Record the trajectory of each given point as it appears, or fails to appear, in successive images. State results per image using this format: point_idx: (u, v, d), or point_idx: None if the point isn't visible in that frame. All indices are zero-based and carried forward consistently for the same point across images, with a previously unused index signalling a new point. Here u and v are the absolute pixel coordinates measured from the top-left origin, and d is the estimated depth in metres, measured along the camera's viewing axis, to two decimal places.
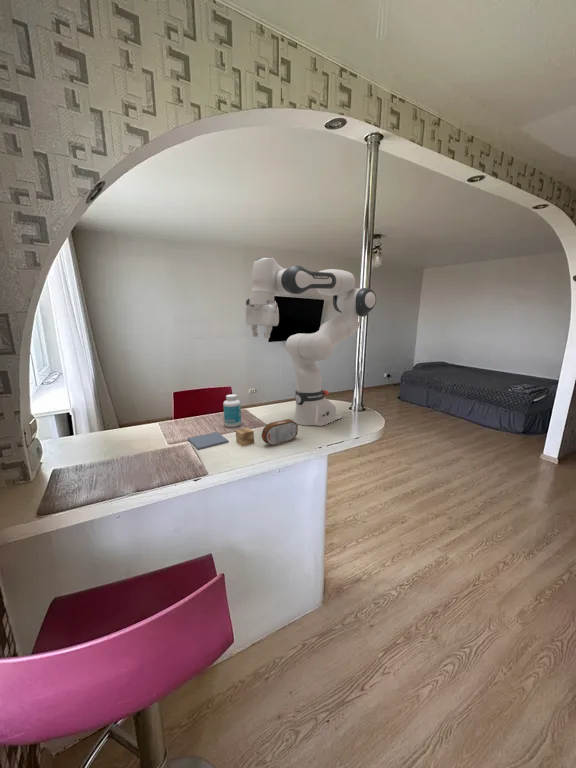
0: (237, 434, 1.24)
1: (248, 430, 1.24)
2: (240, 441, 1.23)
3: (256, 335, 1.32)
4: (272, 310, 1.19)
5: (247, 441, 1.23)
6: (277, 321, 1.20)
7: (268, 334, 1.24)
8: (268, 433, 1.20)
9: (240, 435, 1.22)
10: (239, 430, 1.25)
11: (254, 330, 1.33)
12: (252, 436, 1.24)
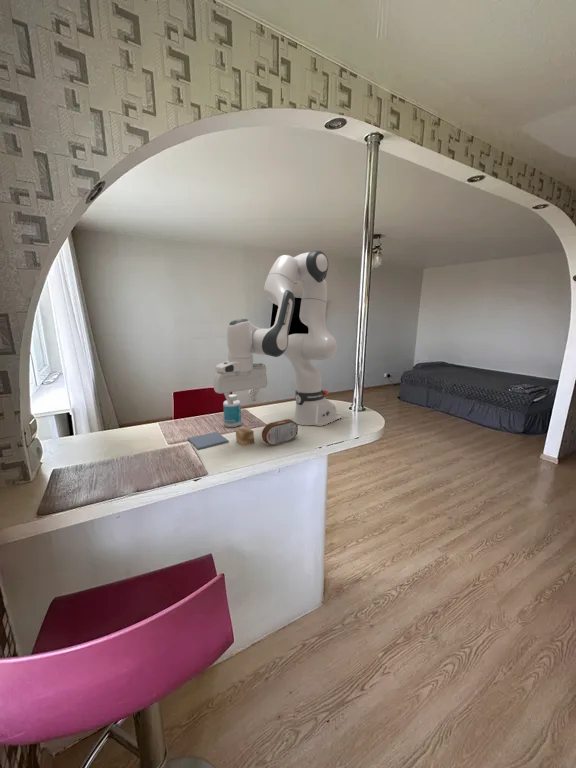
0: (237, 434, 1.24)
1: (248, 430, 1.24)
2: (240, 441, 1.23)
3: None
4: None
5: (247, 441, 1.23)
6: None
7: None
8: (268, 433, 1.20)
9: (240, 435, 1.22)
10: (239, 430, 1.25)
11: None
12: (252, 436, 1.24)
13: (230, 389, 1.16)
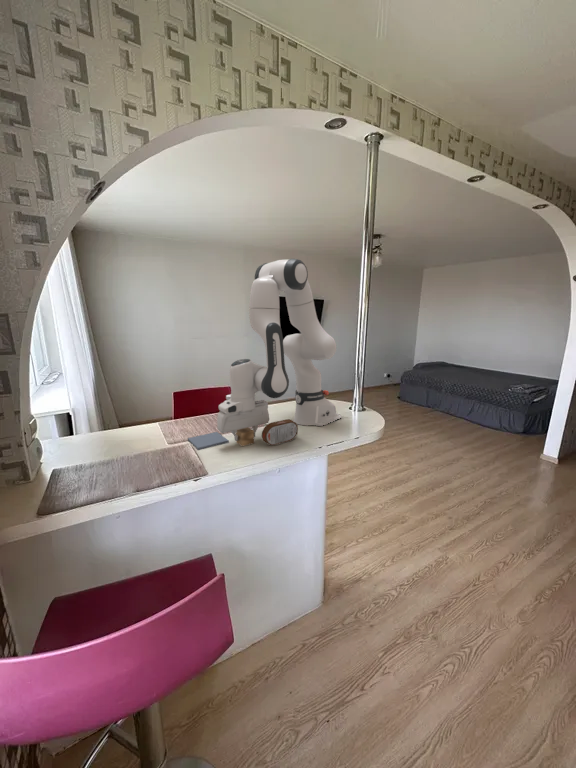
0: (237, 434, 1.24)
1: (248, 430, 1.24)
2: (240, 441, 1.23)
3: None
4: None
5: (247, 440, 1.23)
6: None
7: None
8: (268, 433, 1.20)
9: (240, 435, 1.22)
10: (239, 430, 1.25)
11: (235, 434, 1.22)
12: (252, 436, 1.24)
13: (233, 428, 1.20)
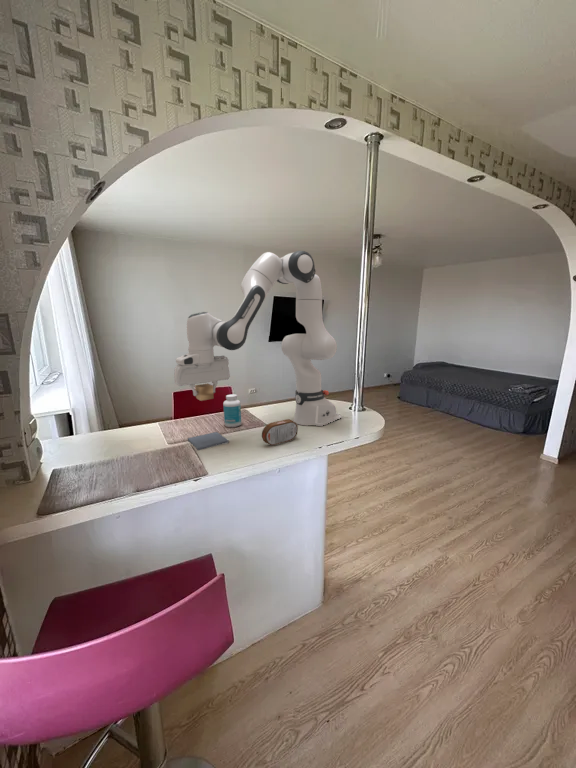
0: (196, 389, 1.23)
1: (207, 385, 1.23)
2: (199, 395, 1.21)
3: None
4: None
5: (206, 395, 1.22)
6: None
7: None
8: (268, 433, 1.20)
9: (198, 389, 1.21)
10: (198, 385, 1.23)
11: (194, 389, 1.21)
12: (211, 391, 1.23)
13: (190, 381, 1.18)
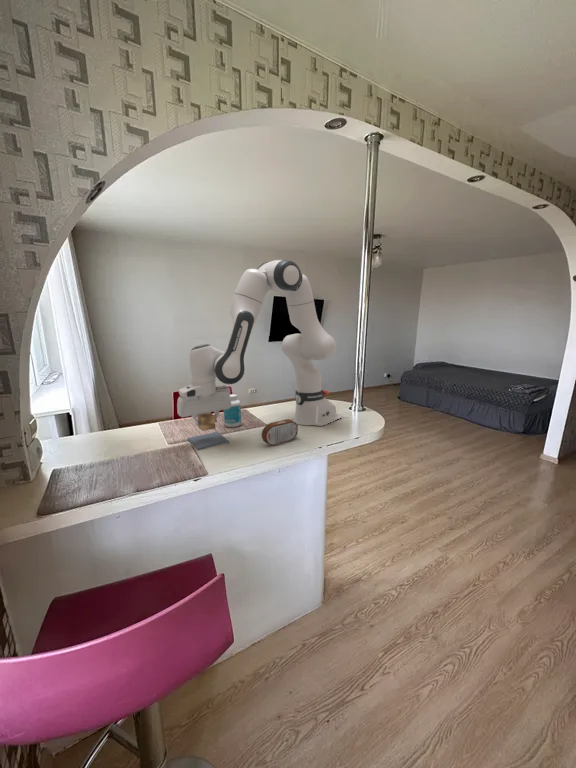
0: (198, 419, 1.25)
1: (209, 415, 1.25)
2: (201, 426, 1.24)
3: None
4: None
5: (208, 425, 1.24)
6: None
7: None
8: (268, 433, 1.20)
9: (201, 419, 1.23)
10: (200, 415, 1.25)
11: (196, 419, 1.23)
12: (213, 421, 1.25)
13: (193, 412, 1.20)
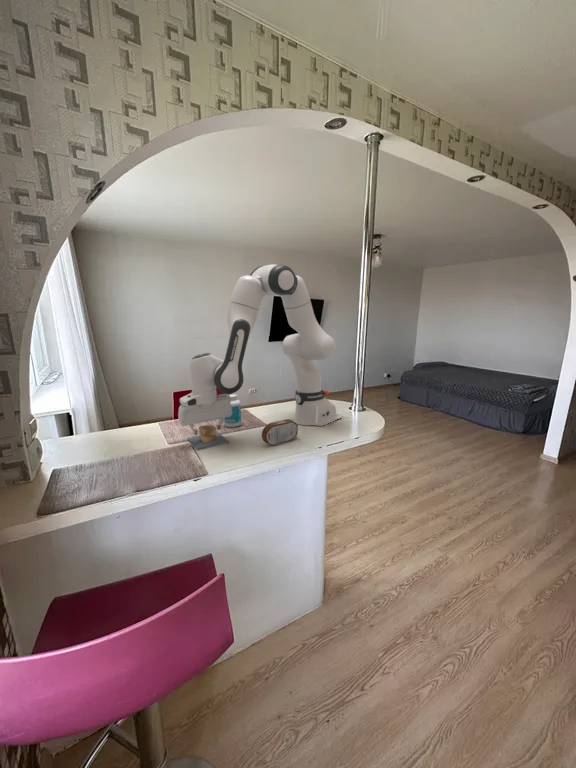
0: (200, 431, 1.26)
1: (210, 427, 1.26)
2: (202, 437, 1.25)
3: None
4: None
5: (209, 437, 1.25)
6: None
7: None
8: (268, 433, 1.20)
9: (202, 431, 1.24)
10: (202, 427, 1.27)
11: (193, 428, 1.23)
12: (214, 432, 1.26)
13: (194, 421, 1.21)
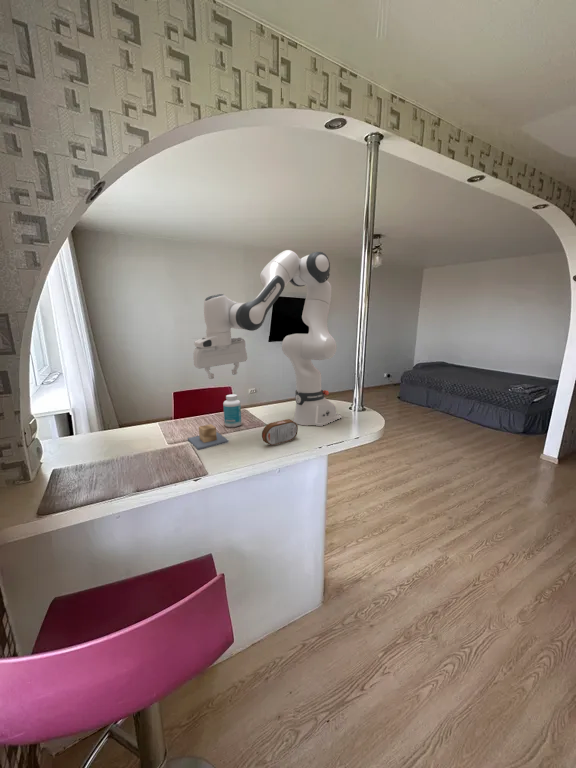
0: (200, 431, 1.26)
1: (210, 427, 1.26)
2: (202, 437, 1.25)
3: None
4: None
5: (209, 437, 1.25)
6: None
7: None
8: (268, 433, 1.20)
9: (202, 431, 1.24)
10: (202, 427, 1.27)
11: None
12: (214, 432, 1.26)
13: (210, 364, 1.20)
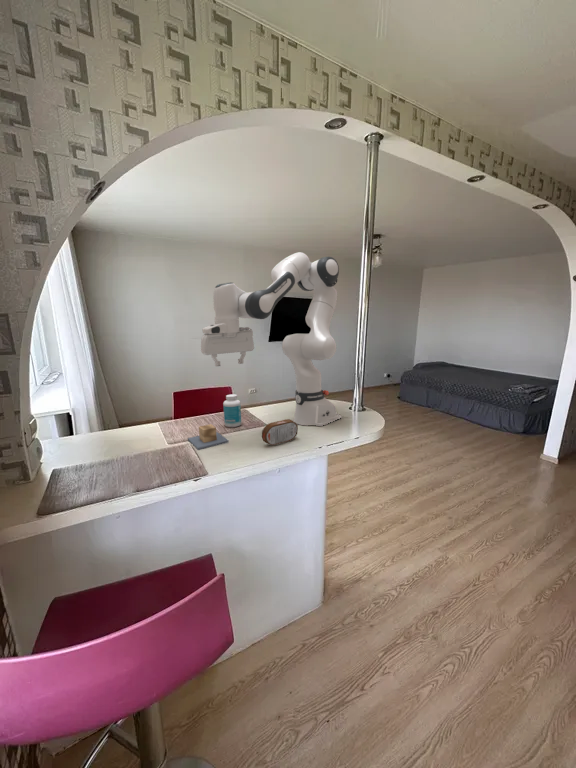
0: (200, 431, 1.26)
1: (210, 427, 1.26)
2: (202, 437, 1.25)
3: None
4: None
5: (209, 437, 1.25)
6: None
7: None
8: (268, 433, 1.20)
9: (202, 431, 1.24)
10: (202, 427, 1.27)
11: None
12: (214, 432, 1.26)
13: (217, 351, 1.20)
